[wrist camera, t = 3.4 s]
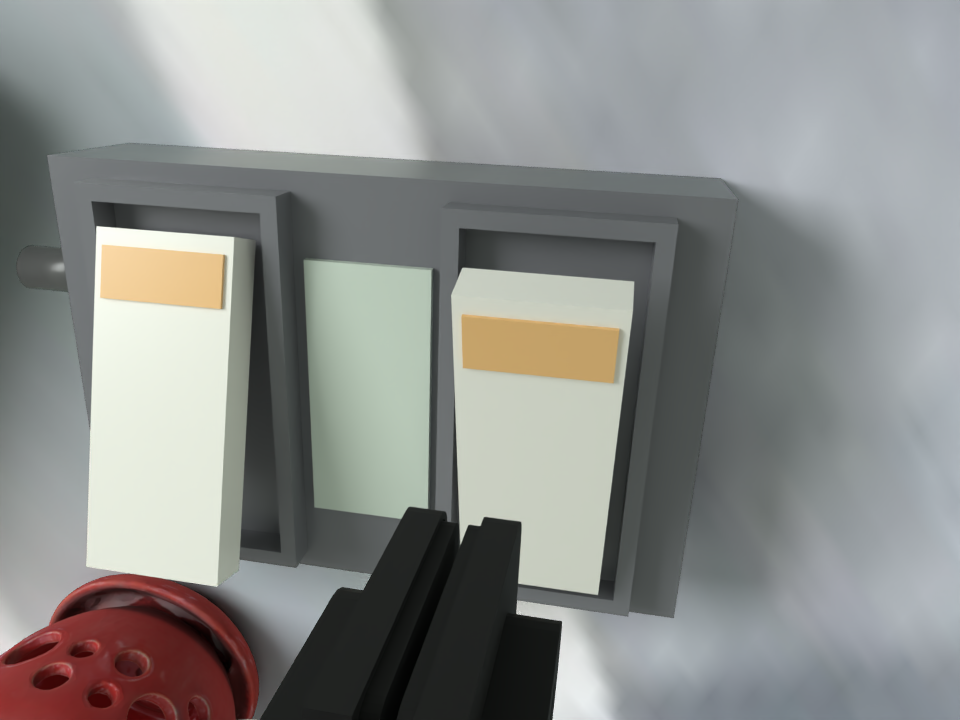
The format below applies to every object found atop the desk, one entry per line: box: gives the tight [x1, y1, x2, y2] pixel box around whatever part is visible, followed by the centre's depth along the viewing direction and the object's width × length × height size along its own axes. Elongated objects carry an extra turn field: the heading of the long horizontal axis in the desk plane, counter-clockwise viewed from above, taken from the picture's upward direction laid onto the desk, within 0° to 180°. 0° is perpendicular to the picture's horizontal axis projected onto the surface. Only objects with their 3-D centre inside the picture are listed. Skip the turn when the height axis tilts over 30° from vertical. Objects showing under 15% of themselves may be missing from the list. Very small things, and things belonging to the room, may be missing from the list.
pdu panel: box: [16, 143, 738, 618], centre depth 31 cm, size 16×28×6 cm, turn 88°
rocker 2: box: [451, 268, 634, 595], centre depth 25 cm, size 12×5×2 cm, turn 178°
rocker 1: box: [86, 226, 256, 587], centre depth 27 cm, size 12×5×2 cm, turn 178°
